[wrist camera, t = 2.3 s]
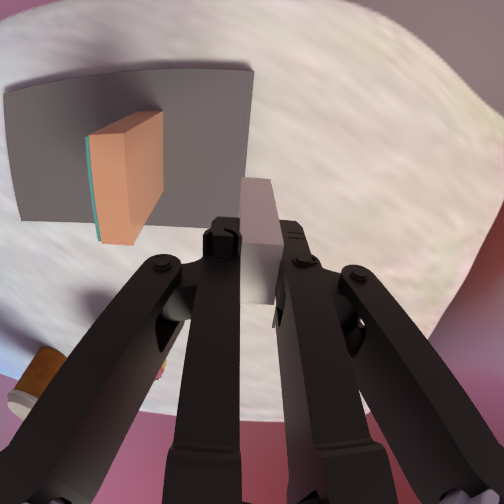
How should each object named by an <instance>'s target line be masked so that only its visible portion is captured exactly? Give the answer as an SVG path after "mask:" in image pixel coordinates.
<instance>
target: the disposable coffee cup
mask: <svg viewBox="0 0 504 504" xmlns="http://www.w3.org/2000/svg"><path fill="white" fill-rule="evenodd" d="M66 359H67V358H66V357H65V356H64V355H63V354H61V353H60V352H58V351H57V350H55V349H53V348H50V347H41V348H40V349H39V351H38V352H37V354H36V355H35V357H34V358H33V360H32V361H31V363H30V364H29V366H28V367H27V369H26V370H25V372H24V373H23V375H22V377H21V378H20V380H19V381H18V383H17V384H16V386H15V388H14V389H13V390H12V391H11V392H9V394H8V395H7V396H8V403H7V405H8V407H9V409H10V410H11V411H12V412H13V413H14V414H15V415H16V416H18V417H19V418H20V419H22V420H23V421H24V420H25V418H26V417H27V415H28V414H29V412H30V411H31V409H32V408H33V406H34V405H35V403H36V402H37V400H38V399H39V397H40V396H41V394H42V393H43V391H44V390H45V388H46V387H47V386H48V384H49V383H50V381H51V380H52V378H53V377H54V376H55V374H56V373H57V371H58V370H59V369H60V367H61V366H62V365H63V363H64V362H65V360H66Z"/></svg>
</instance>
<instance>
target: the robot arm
mask: <svg viewBox="0 0 504 504" xmlns="http://www.w3.org/2000/svg"><path fill="white" fill-rule="evenodd" d="M275 296H276V308H275V314H274V319H273V324H272V328H275V324H276V334H277V345H278V355H279V366H280V376H281V387H282V398H283V410H284V421H285V432H286V445H287V456H288V469H289V482H288V487H287V504H398V500H397V495H396V490H395V485H394V481H393V476H392V472H391V467H390V463H389V459H388V455H387V452H386V450H385V448H384V447H383V446H382V444H380V443H378V442H375V441H373V440H372V438H371V436H370V433H369V429H368V425H367V421H366V417H365V413H364V409H363V405H362V401H361V397H360V393H359V390H360V392H361V394H362V396H363V398H364V400H365V401H366V403H367V405H368V407H369V409H370V411H371V412H372V414H373V416H374V418H375V420H376V422H377V423H378V425H379V427H380V429H381V431H382V433H383V435H384V437H385V438H386V440H387V442H388V444H389V446H390V448H391V449H392V451H393V453H394V455H395V457H396V459H397V461H398V463H399V465H400V467H401V469H402V471H403V472H404V474H405V476H406V478H407V480H408V482H409V484H410V486H411V488H412V489H413V491H414V493H415V494H416V496H417V498H418V499H419V500H420V501H421V503H422V504H504V448H503V446H501V445H500V444H499V443H498V441H497V440H496V438H495V436H494V435H493V433H492V432H491V430H490V428H489V427H488V425H487V424H486V422H485V421H484V419H483V417H482V416H481V415H480V413H479V411H478V410H477V408H476V407H475V405H474V404H473V402H472V401H471V399H470V398H469V397H468V395H467V394H466V392H465V391H464V389H463V388H462V386H460V384H459V382H458V381H457V379H456V378H455V377H454V375H453V374H452V373H451V371H450V370H449V368H448V367H447V365H446V364H445V363H444V361H443V360H442V359H441V357H440V356H439V355H438V353H437V352H436V351H435V349H434V348H433V347H432V345H431V344H430V343H429V341H428V340H427V339H426V337H425V336H424V335H423V334H422V332H421V331H420V330H419V328H418V327H417V326H416V325H415V323H414V322H413V321H412V320H411V318H410V317H409V316H408V315H407V313H406V312H405V311H404V310H403V308H402V307H401V306H400V305H399V303H398V302H397V301H396V300H395V299H394V297H393V296H392V295H391V294H390V293H389V291H388V290H387V289H386V288H385V287H384V285H383V284H382V283H381V282H380V281H379V279H378V278H377V277H376V276H375V275H374V274H373V273H372V272H371V271H370V270H369V269H367V268H365V267H363V266H359V265H348V266H345V267H344V268H343V269H342V271H341V273H337V272H333V271H330V270H327V269H324V268H322V266H321V263H320V261H319V260H318V258H317V257H315V256H314V255H312V254H311V252H310V249H309V246H308V243H307V240H306V237H305V234H304V231H303V228H302V226H301V225H300V224H299V223H298V222H296V221H289V220H279V218H278V213H277V208H276V203H275V199H274V194H273V189H272V185H271V180H270V179H261V178H248V177H242V181H241V193H240V206H239V218H236V217H221V216H217V217H216V218H215V219H214V220H213V221H212V223H211V228H210V229H208V230H206V231H205V232H204V234H203V257H202V258H201V259H199V260H197V261H195V262H191V263H186V264H181V262H180V260H179V259H178V258H177V257H175V256H173V255H169V254H159V255H155V256H152V257H150V258H148V259H147V260H146V261H145V262H144V263H143V264H142V265H141V266H140V267H139V269H138V270H137V271H136V272H135V273H134V275H133V276H132V277H131V278H130V279H129V280H128V282H127V283H126V284H125V285H124V286H123V288H122V289H121V290H120V291H119V292H118V294H117V295H116V296H115V297H114V299H113V300H112V301H111V302H110V303H109V305H108V306H107V307H106V308H105V310H104V311H103V312H102V313H101V315H100V316H99V317H98V318H97V320H96V321H95V322H94V324H93V325H92V326H91V327H90V329H89V330H88V331H87V333H86V334H85V335H84V336H83V338H82V339H81V340H80V342H79V343H78V344H77V346H76V347H75V348H74V350H73V351H72V352H71V354H70V355H69V356H68V358H67V359H66V360H65V362H64V363H63V365H62V366H61V367H60V369H59V370H58V371H57V373H56V374H55V376H54V377H53V378H52V380H51V381H50V383H49V384H48V386H47V387H46V388H45V390H44V391H43V393H42V394H41V396H40V397H39V399H38V400H37V402H36V403H35V405H34V406H33V408H32V409H31V411H30V412H29V414H28V415H27V417H26V418H25V420H24V421H23V423H22V425H21V426H20V428H19V429H18V431H17V432H16V434H15V436H14V437H13V439H12V440H11V442H10V444H9V445H8V446H7V447H6V448H5V449H3V450H2V451H1V452H0V504H91V503H92V501H93V499H94V498H95V496H96V494H97V492H98V491H99V489H100V487H101V485H102V483H103V481H104V478H105V476H106V475H107V473H108V470H109V468H110V466H111V464H112V462H113V460H114V458H115V456H116V454H117V452H118V450H119V448H120V446H121V444H122V442H123V440H124V438H125V436H126V434H127V432H128V430H129V428H130V426H131V424H132V422H133V421H134V419H135V417H136V415H137V413H138V411H139V409H140V407H141V405H142V403H143V401H144V399H145V397H146V395H147V393H148V391H149V389H150V388H151V386H152V384H153V382H154V380H155V378H156V376H157V374H158V372H159V370H160V368H161V367H162V365H163V363H164V361H165V359H166V357H167V355H168V353H169V351H170V350H171V348H172V346H173V344H174V342H175V340H176V338H177V336H178V335H179V333H180V331H181V329H182V327H183V325H184V322H185V320H188V319H191V323H190V329H189V335H188V341H187V348H186V354H185V360H184V367H183V374H182V380H181V387H180V395H179V402H178V409H177V417H176V425H175V433H174V441H173V444H172V446H171V447H170V448H169V452H168V455H167V461H166V469H165V477H164V487H163V497H162V504H250V503H247V502H242V481H241V480H242V476H241V474H242V472H241V453H240V443H239V442H240V441H239V440H240V438H239V437H240V436H239V434H240V432H239V431H240V428H239V427H240V426H239V425H240V424H239V422H240V303H249V304H269V305H274V301H275ZM361 319H362V321H363V322H364V324H365V326H364V325H363V324H362V323H361V321H360V320H361Z"/></svg>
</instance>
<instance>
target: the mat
mask: <svg viewBox="0 0 504 504" xmlns="http://www.w3.org/2000/svg"><path fill="white" fill-rule="evenodd" d="M253 80H254V71H242V70H225V69H155V70H138V71H125V72H115V73H106V74H98V75H90V76H83V77H77V78H71V79H65V80H60V81H54V82H49V83H45V84H40V85H36V86H31V87H27V88H23V89H19V90H15V91H12V92H8V93H5V94H3V99H4V117H5V129H6V139H7V147H8V155H9V162H10V168H11V174H12V180H13V185H14V190H15V195H16V200H17V204H18V209H19V213H20V217H21V221H47V222H80V223H95V220H94V214H93V207H92V200H91V192H90V184H89V176H88V166H87V155H86V142H85V137H86V136H88V135H90V134H92V133H93V132H95V131H97V130H99V129H101V128H103V127H105V126H107V125H109V124H111V123H113V122H115V121H118V120H120V119H122V118H124V117H126V116H128V115H130V114H133V113H135V112H138V111H163V183H164V191H163V193H162V194H161V196H160V198H159V200H158V201H157V203H156V205H155V206H154V208H153V210H152V212H151V214H150V215H149V217H148V219H147V221H146V223H145V224H144V225H154V226H175V227H194V228H211V223H212V221H213V220H214V219H215V218H216V217H217V216H221V217H236V218H239V206H240V193H241V181H242V177H245V167H246V156H247V144H248V133H249V122H250V111H251V101H252V90H253Z"/></svg>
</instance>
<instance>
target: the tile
mask: <svg viewBox="0 0 504 504" xmlns="http://www.w3.org/2000/svg"><path fill="white" fill-rule="evenodd" d="M85 142H86V155H87V166H88V176H89V184H90V192H91V200H92V207H93V214H94V220H95V226H96V232H97V238H98V241H102V244H116V245H134V243H135V241H136V239H137V237H138V235H139V234H140V232H141V230H142V228H143V226H144V224H145V223H146V221H147V219H148V217H149V215H150V214H151V212H152V210H153V208H154V206H155V205H156V203H157V201H158V200H159V198H160V196H161V194H162V193H163V191H164V183H163V111H138V112H135V113H133V114H130V115H128V116H126V117H124V118H122V119H120V120H118V121H115V122H113V123H111V124H109V125H107V126H105V127H103V128H101V129H99V130H97V131H95V132H93V133H92V134H90V135H88V136H86V137H85Z"/></svg>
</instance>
